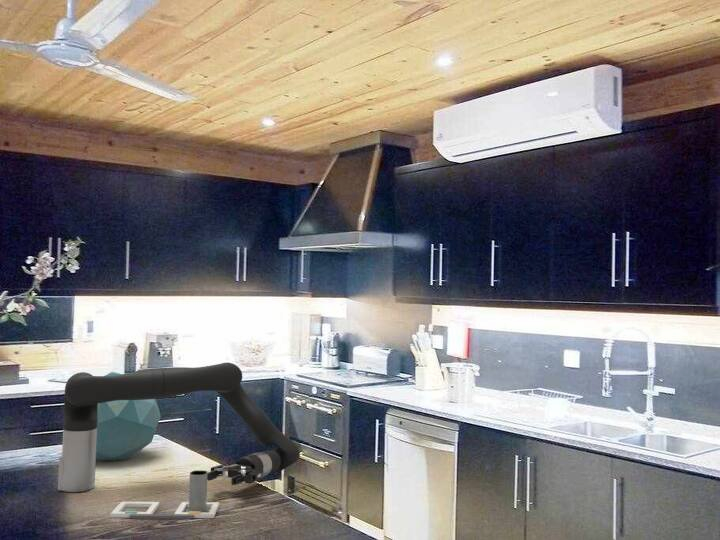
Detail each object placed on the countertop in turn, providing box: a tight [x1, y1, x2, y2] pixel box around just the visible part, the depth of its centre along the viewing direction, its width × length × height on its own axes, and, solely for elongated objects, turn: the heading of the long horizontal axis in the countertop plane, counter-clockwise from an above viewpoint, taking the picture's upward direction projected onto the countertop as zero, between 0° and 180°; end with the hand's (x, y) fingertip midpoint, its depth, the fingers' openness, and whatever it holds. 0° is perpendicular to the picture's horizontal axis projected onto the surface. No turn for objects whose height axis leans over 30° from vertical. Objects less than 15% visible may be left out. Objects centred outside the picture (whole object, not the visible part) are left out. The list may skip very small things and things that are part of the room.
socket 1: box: [109, 501, 160, 519], centre depth 177 cm, size 10×10×1 cm
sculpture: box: [96, 371, 161, 462], centre depth 233 cm, size 29×29×30 cm
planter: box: [188, 469, 208, 512], centre depth 178 cm, size 4×4×10 cm
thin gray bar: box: [128, 514, 195, 520], centre depth 172 cm, size 16×1×1 cm, turn 94°
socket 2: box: [173, 501, 220, 519], centre depth 178 cm, size 10×10×1 cm
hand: (220, 479), depth 186 cm, fingers open, 8 cm apart
